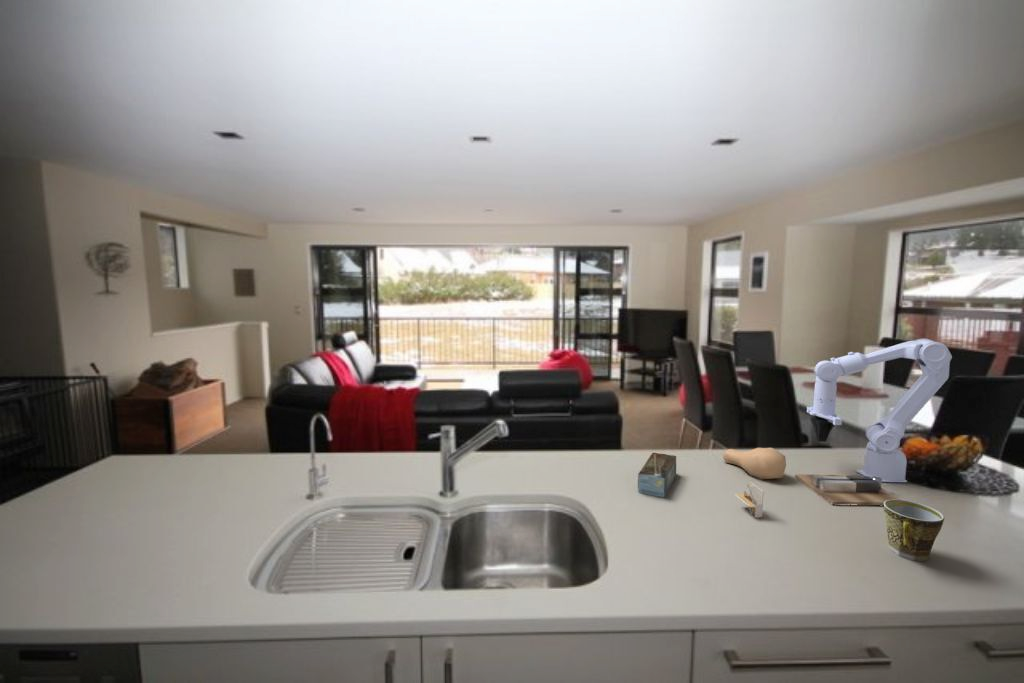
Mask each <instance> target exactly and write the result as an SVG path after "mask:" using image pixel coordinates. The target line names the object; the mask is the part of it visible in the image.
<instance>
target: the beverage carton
mask: <svg viewBox="0 0 1024 683" xmlns="http://www.w3.org/2000/svg"><path fill="white" fill-rule="evenodd" d="M676 474H677V456H676V455H671V454H665V453H657V452H652V453H651V454H650V455H649V457H648V458H647V460H646V462H645V463H644V465H643V466H642V467H641V469H640V471H639V472H638V474H637V492H638V493H639V494H645V495H649V496H655V497H658V496H659V497H658V498H663V497H664V498H666V495H667V493H668V491H669V489H670V487H671V485H672V483H673V481H674V479H675V477H676Z"/></svg>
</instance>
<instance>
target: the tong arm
mask: <svg viewBox="0 0 1024 683" xmlns="http://www.w3.org/2000/svg"><path fill="white" fill-rule="evenodd" d="M820 480H841V481H852V480H875V481H877V482H879V489H881V488H882V485H883V482H882V479H881V478H879V477H869V476H864V475H860V476H846V477H836V476H814V478H813V484H814V485H815V486H820Z"/></svg>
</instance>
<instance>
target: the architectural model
mask: <svg viewBox="0 0 1024 683" xmlns="http://www.w3.org/2000/svg"><path fill="white" fill-rule="evenodd" d="M747 488H748V489H749V493H747V492H746V490H744V492H743V493H735V497H737V498H738V499H739V500H740V501H742V502H743V503H744V504H745V505H746V506H747V507H748V509H749V512H750V514H751V515H754V518H755V517H762V518H763V511H764V510H763V509H764V506H763V505H764V493H765V492H764V490H762V489H761V488H759V487H758V486H757V485H755V484H754V483H753V482H752V481H750V482H749V484H747Z"/></svg>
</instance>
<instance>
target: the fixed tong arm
mask: <svg viewBox="0 0 1024 683" xmlns="http://www.w3.org/2000/svg"><path fill="white" fill-rule="evenodd" d="M819 489H820V490H821V491H822V492H856V493H879V482H877V481H875V480H852V481H841V480H820V487H819Z"/></svg>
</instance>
